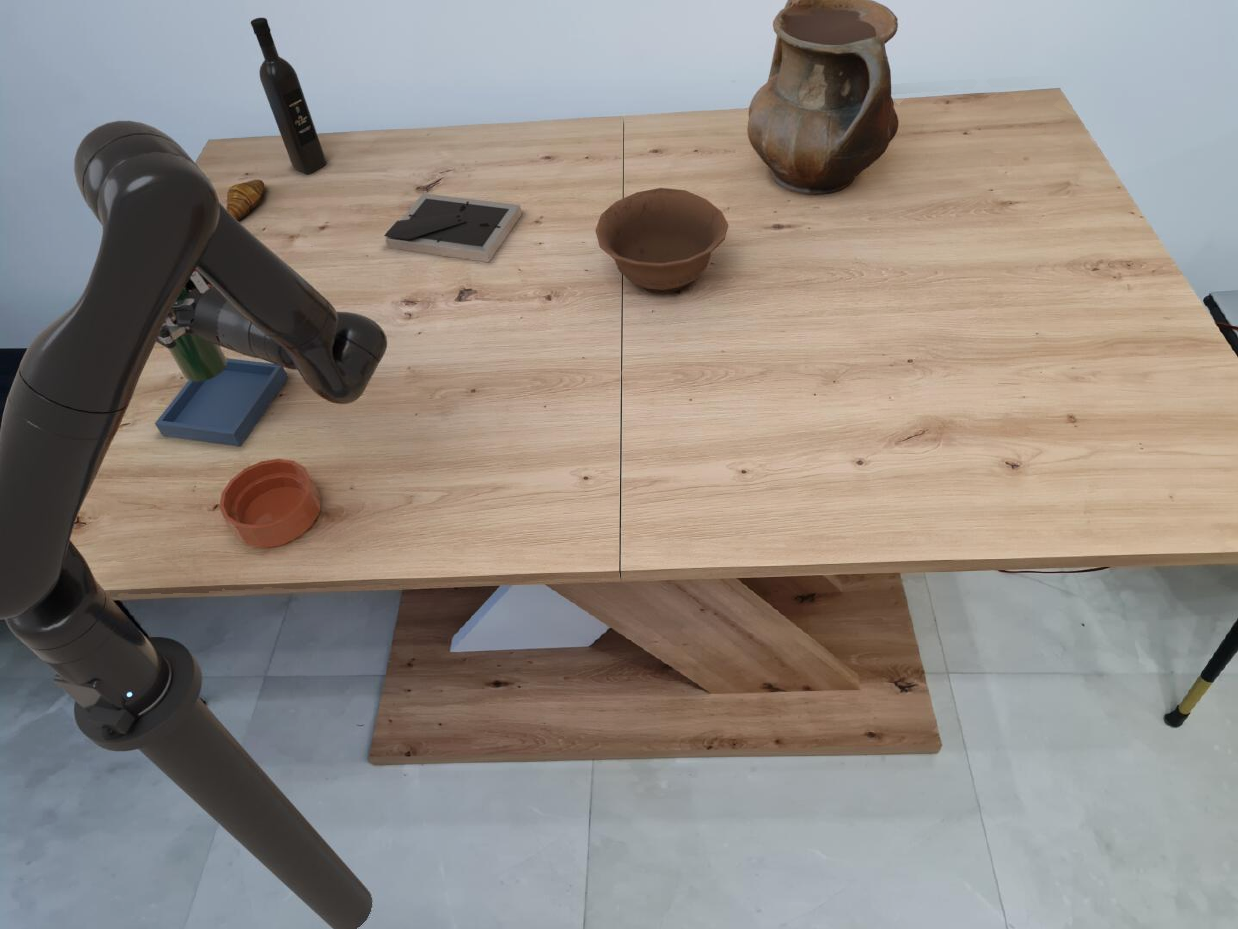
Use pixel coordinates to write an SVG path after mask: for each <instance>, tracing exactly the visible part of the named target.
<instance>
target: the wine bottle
mask: <svg viewBox="0 0 1238 929" xmlns="http://www.w3.org/2000/svg"><path fill="white" fill-rule="evenodd" d="M250 26H251V27H252V30H253V33H254V35H255V36H256V39H257V42H258V46H259V47H260V50H261V54H262V57H263V58H264V60H263V62H262V63H261V65H260V67H259V80H260V82H261V85H262V88H263V90H264V93H265V96H266V99H267V101H268V104H269V107H270V110H271V112H272V115H273V118H274V120H275V123H276V125H277V128H278V131H279V134H280V136H281V140H282V142H283V144H284V147H285V149H286V152H287V156H288V158H289V160H290V163H291V166H292V169H294V170H296V171H299V172H301V173H302V174H305V175H310V174H312V173H314V172H316V171H317V170H319V169H321V168H322V167H325V166H326V165H327V159H326V157H325V153H324V150H323V147H322V144H321V141H320V138H319V135H318V133H317V129H316V126H315V124H314V122H313V118H312V115H311V111H310V109H309V106H308V103H307V100H306V98H305V94H304V92H303V88H302V86H301V82H300V79H299V77H298V74H297V72H296V70H295V69H294V67H293V66H292V64H290V62H289V61H287V60H286V59H284V58H283V57H280V55H279V53H278V50H277V47H276V43H275V41H274V38H273V36H272V31H271V28H270V25H269V22H268V19H267V18H266V17H256V18H254V19H252V20H251V21H250Z"/></svg>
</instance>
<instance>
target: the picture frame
mask: <svg viewBox="0 0 1238 929" xmlns="http://www.w3.org/2000/svg"><path fill="white" fill-rule="evenodd" d="M520 217H522V208H521V205H520V204H513V203H505V202H497V201H491V200H482V199H473V198H465V197H459V196H457V197H456V196H449V195H443V194H442V195H441V194H432V193H425V192H424V193H422V194H421V195H420V196H419V197H418V199H417V200H416V201H415V202H414V203H413V204H412V206H411V207H410V208H409V209H408V211H407V212H406V213H405V214H404V215H403V216H402V217H401V219H400V220H397V221H395V223H394V224H393V225H391V227H390V228H389V229H388V230H387V231H386V233H384V235H383V236H384V237H385V243H386V245H387V249H391V250H392V249H393V250H399V251H406V252H413V253H419V254H420V253H421V254H428V255H433V256H440V257H447V258H448V257H449V258H455V259H463V260H469V261H475V262H484V263H490V262H491V260H492V259H493V257H494V256H495V255H496V253H497V251H498V250H499V248H500V247H501V245H502V244H503V242H504V241H505V240H506V239H507V237H508V235H509V234H510V233H511V231H512V229H513V228H514V226H515V225H516V224H517V222H518V221H519V219H520Z"/></svg>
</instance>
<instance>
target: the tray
mask: <svg viewBox="0 0 1238 929" xmlns="http://www.w3.org/2000/svg"><path fill="white" fill-rule="evenodd" d="M226 359H227V365H226V367H225V369H224V370H223V371H222V372H221V373H220V374H218V375H217V376H215V377H213V378H211V379H209V380H205V381H199V382H195V381H190V380H187V382H186V383H185V384H184V385H183V387H182V388H181V389H180V391H179V392H178V393H177V394H176V395H175V397H174V398H173V399H172V401H171V402H170V403H169V404H168V406H167V407H166V408H165V410H164V411H163V412H162V414H161V415H160V416H159V417H158V419H157V420H156V421H155V423H154V425H155V426H156V428H157V429H158V431H159V433H160V434H161V435H162V437H168V438H176V439H180V440H189V441H197V442H203V443H210V444H211V443H212V444H219V445H227V446H232V447H233V446H234V447H242V445H243V444H244V443H245V441H246V439H248V436H249V435H250V434H251V432H252V431H253V430H254V428H255V427H256V426H257V424H258V422H259V421H260V419H261V417H262V416H263V415H264V413H265V412H266V410H267V409H268V408H269V406H270V404H271V403H272V401H273V400H274V399H275V397H276V396H277V395H278V393H279V392H280V390H281V389H282V387H283V385H285V383H286V382H287V380H288V378H289V376H288V374H287V372H286V370H285V367H282V366H279V365H276V364H273V363H271V362H263V361H254V360H246V359H236V358H227V357H226Z"/></svg>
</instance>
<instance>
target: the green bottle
mask: <svg viewBox="0 0 1238 929" xmlns="http://www.w3.org/2000/svg"><path fill="white" fill-rule="evenodd" d="M189 292H191V290H190V289H189V287H188V285H187V284H186V286H185V287H184V289H183V290H182V292H181V294H180V295H179V297H178V299H177V300H176V301H179V300H180V299H182V298H184V297H186V295H187V294H188V293H189ZM173 312H174V314H175V311H174V310H173ZM175 342H176V346H175V347H174V348H171V349H168V351H169V353H170V355H171V356H172V358H173V360H174V361H175V363H176V365H177V367H178V368H179V369H180V372H181V374H182V375H183V377H184V378H185V379H186V380H187V381H189V380H190V381H195V382H199V381H205V380H209V379H211V378H213V377H215V376H217V375H218V374H220V373H221V372H222V371H223V370H224V369H225V367H226V365H227V359H226V358H227V357H226V355H225V353H224V351H223V349H222V347H221V346H219V345H216V344H213V343H211V342H208V341H206V340H205V339H203V338H201V337H200V336H198V335H195V334H191V335H187V334H182V335H181V336H179V337H178V338H176V339H175Z"/></svg>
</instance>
